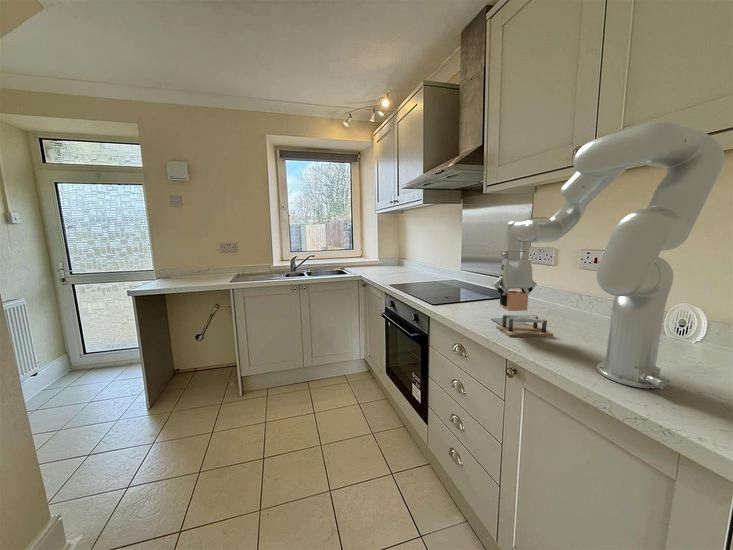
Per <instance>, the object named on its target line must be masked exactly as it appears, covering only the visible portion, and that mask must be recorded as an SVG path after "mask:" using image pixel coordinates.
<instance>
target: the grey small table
mask: <svg viewBox="0 0 733 550" xmlns="http://www.w3.org/2000/svg"><path fill="white" fill-rule="evenodd" d="M502 318H503V320H502V327H506V321H507V318H510V319H509V328H508V331H513V322H526V323H533V324H532V325H533V328H537V326H539V325H538V324H539V323H540V324H541V328H542V333H546V330H547V327H548V325H547V324H548V320H547V319H545V318H544V319H543V318H542V319H541V318H539V316H538V315H535V314H533V315H531V314H529V315H528V314H503V315H502Z"/></svg>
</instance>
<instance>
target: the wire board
mask: <svg viewBox="0 0 733 550" xmlns="http://www.w3.org/2000/svg"><path fill="white" fill-rule="evenodd" d="M508 328H509V325H506V327H502V326H500V325H495V329H497V330H498V329H499V330H498V331H500V332H501V333H503V334H504V335H506V336H508V337H509V338H518V337H521V338H523V337H545V336H546V337H548V336H549V337H553V336H554V333H553V332H551V331H549V330H547V329H546V333H542V326H539V325H537V328H533V324H529V325H513V331H508Z"/></svg>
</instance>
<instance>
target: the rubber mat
mask: <svg viewBox="0 0 733 550" xmlns="http://www.w3.org/2000/svg"><path fill="white" fill-rule="evenodd" d="M509 319H510V318H507V321H506V325H509ZM490 320H491V321H492V322H493V323H495V322H496V324H498V326H502V320H503V317H498V318H497V317H495V318H493V317H491V318H490ZM513 325H530V324H529V323H528V322H513Z"/></svg>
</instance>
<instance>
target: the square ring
mask: <svg viewBox="0 0 733 550" xmlns="http://www.w3.org/2000/svg"><path fill="white" fill-rule="evenodd" d="M506 295H507V306H503V305H501V303H500V302H499V307H500V308H502V309H504V310H506V311H508V312H521V311H522V312H525V311H528V304H529V295H528V294H527V293H524V292H522V291H521V290H517V289H516V290H514V289H513V290H512V289H508V291H507V293H506Z"/></svg>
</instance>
